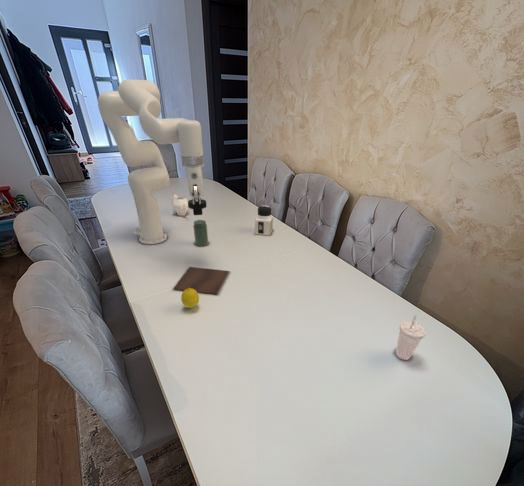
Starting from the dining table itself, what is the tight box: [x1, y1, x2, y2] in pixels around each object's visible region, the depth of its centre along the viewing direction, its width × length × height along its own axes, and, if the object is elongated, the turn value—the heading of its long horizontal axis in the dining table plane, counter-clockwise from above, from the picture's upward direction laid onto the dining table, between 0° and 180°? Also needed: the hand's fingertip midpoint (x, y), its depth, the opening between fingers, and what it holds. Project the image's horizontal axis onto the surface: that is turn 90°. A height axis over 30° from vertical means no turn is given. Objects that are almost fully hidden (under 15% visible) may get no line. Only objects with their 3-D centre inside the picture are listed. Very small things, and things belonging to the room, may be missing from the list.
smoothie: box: [395, 314, 427, 361], centre depth 81 cm, size 6×6×14 cm
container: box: [254, 205, 274, 236], centre depth 152 cm, size 8×8×13 cm
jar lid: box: [188, 198, 207, 210], centre depth 113 cm, size 7×7×2 cm
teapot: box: [171, 192, 190, 217], centre depth 172 cm, size 10×20×9 cm, turn 31°
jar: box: [193, 219, 209, 247], centre depth 140 cm, size 6×6×11 cm
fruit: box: [180, 288, 200, 309], centre depth 99 cm, size 6×6×8 cm
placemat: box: [173, 266, 230, 296], centre depth 115 cm, size 16×16×1 cm
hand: (197, 211), depth 115 cm, fingers closed on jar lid, 6 cm apart
